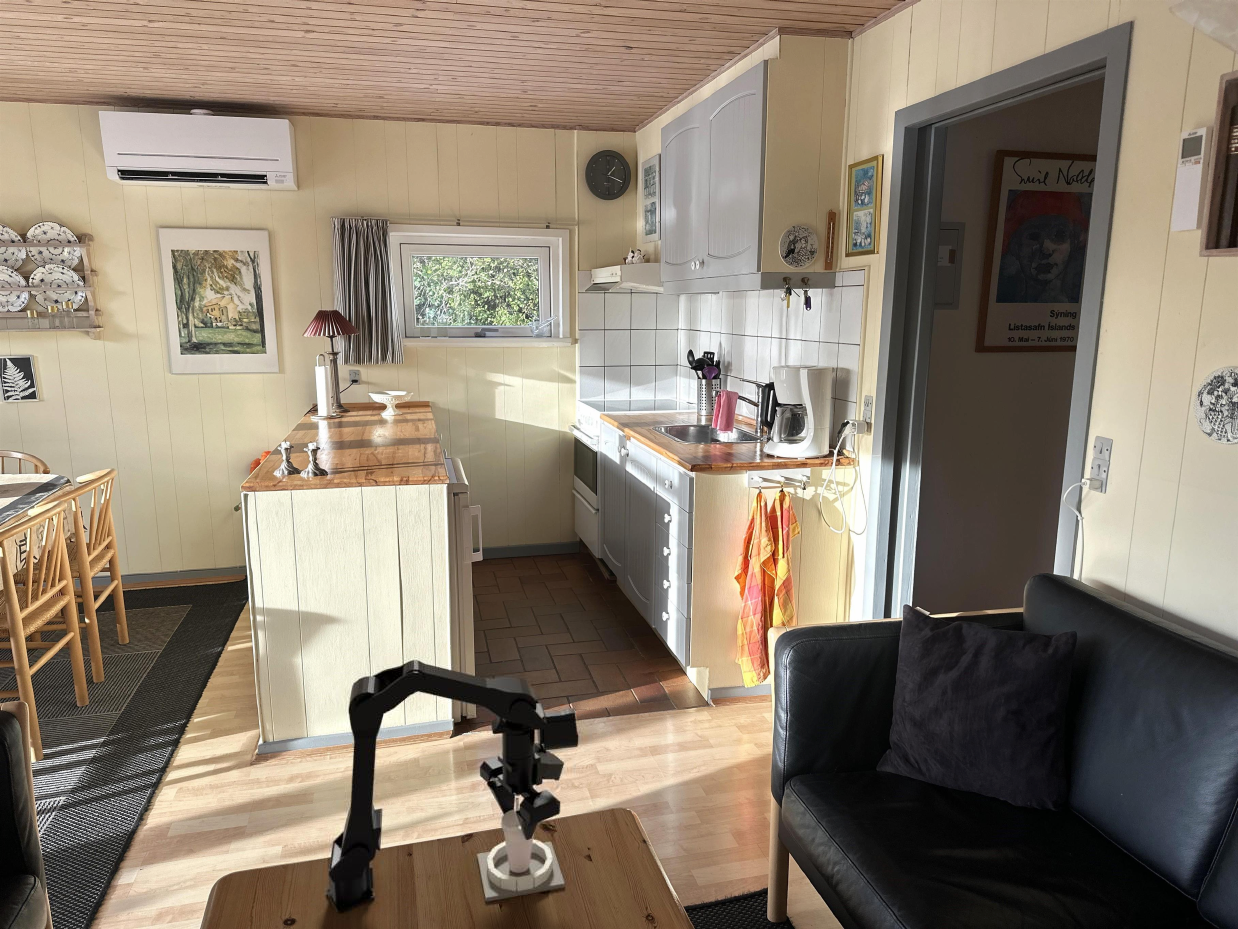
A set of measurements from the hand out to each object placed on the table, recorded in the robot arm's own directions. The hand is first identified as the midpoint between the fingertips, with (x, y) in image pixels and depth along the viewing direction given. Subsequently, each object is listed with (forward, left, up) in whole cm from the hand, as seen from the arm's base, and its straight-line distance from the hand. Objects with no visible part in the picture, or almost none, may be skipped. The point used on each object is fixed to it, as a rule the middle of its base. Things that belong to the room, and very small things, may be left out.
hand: (519, 829), depth 155 cm
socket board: (0, 0, -9) cm, 9 cm away
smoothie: (0, 0, -8) cm, 8 cm away
